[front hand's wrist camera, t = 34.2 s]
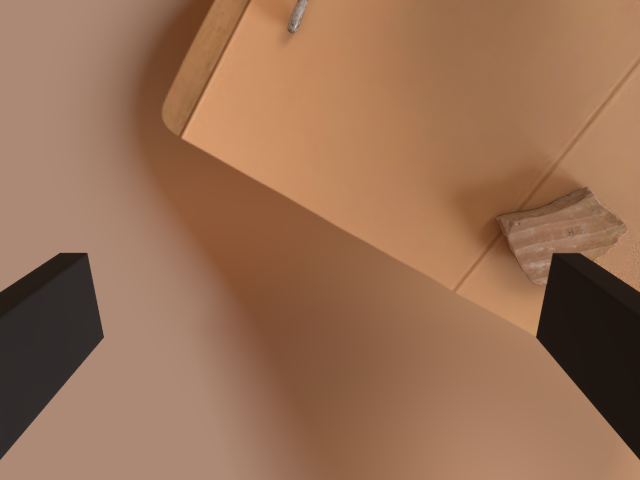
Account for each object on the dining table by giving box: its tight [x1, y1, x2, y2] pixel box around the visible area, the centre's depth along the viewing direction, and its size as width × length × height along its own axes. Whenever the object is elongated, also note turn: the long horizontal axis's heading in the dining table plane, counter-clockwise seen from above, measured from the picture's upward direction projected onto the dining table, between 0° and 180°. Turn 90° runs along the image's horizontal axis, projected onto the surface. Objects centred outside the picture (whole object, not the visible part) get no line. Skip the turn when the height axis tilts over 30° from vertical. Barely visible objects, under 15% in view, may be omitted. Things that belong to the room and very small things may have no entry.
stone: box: [495, 187, 628, 285], centre depth 53 cm, size 13×12×2 cm
